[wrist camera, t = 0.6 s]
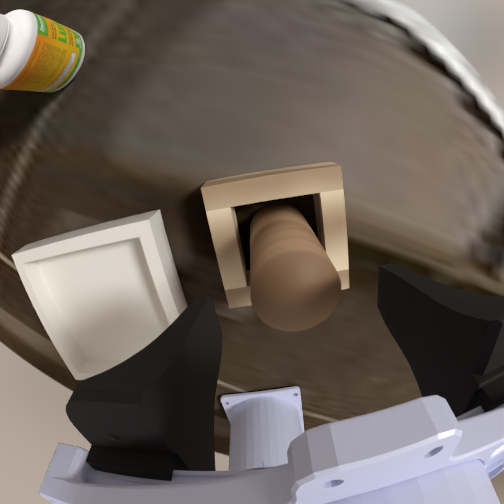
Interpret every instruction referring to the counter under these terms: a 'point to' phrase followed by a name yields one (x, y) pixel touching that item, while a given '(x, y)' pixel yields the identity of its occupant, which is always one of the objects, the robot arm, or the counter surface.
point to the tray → (103, 290)
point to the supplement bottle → (37, 53)
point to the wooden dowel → (290, 270)
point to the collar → (270, 188)
